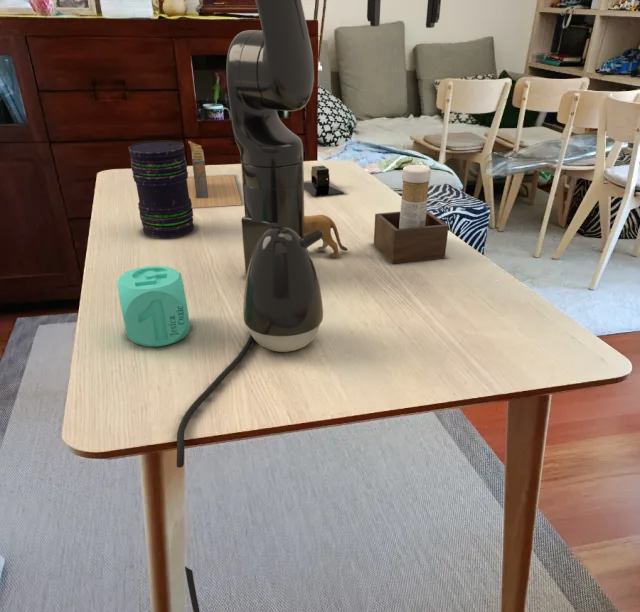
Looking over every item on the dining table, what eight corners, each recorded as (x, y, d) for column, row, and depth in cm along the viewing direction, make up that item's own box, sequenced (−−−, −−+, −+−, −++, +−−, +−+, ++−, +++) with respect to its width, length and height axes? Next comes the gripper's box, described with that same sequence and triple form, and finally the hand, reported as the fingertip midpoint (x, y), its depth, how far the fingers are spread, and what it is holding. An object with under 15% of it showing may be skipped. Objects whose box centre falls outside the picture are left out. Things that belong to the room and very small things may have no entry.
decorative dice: (130, 351, 78) (117, 293, 74) (127, 324, 85) (116, 269, 80) (192, 342, 80) (184, 285, 76) (185, 316, 86) (177, 262, 82)
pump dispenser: (334, 354, 77) (335, 236, 68) (254, 367, 75) (244, 246, 66) (312, 320, 85) (311, 210, 76) (239, 330, 83) (229, 218, 74)
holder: (444, 258, 104) (448, 225, 101) (392, 264, 102) (394, 230, 99) (422, 239, 112) (425, 209, 109) (373, 244, 110) (375, 213, 107)
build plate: (344, 194, 136) (344, 173, 134) (313, 198, 134) (313, 176, 132) (325, 180, 146) (325, 159, 143) (296, 183, 144) (295, 162, 141)
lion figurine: (263, 259, 104) (260, 206, 99) (264, 248, 108) (261, 197, 103) (348, 258, 105) (350, 204, 99) (346, 247, 109) (347, 195, 104)
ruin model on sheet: (166, 178, 148) (159, 135, 142) (233, 175, 150) (230, 132, 144) (163, 209, 128) (156, 159, 122) (241, 204, 130) (238, 156, 124)
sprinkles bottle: (409, 241, 109) (416, 162, 101) (428, 248, 106) (437, 167, 99) (391, 247, 107) (397, 166, 99) (410, 254, 104) (417, 172, 96)
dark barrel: (158, 242, 111) (144, 155, 102) (133, 229, 117) (117, 146, 108) (205, 230, 116) (195, 146, 108) (178, 218, 122) (167, 138, 114)
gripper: (350, -121, 80) (347, 27, 89) (457, -128, 75) (442, 29, 84) (371, -115, 85) (366, 24, 95) (472, -121, 80) (456, 26, 90)
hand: (402, 26), depth 89 cm, fingers open, 8 cm apart
